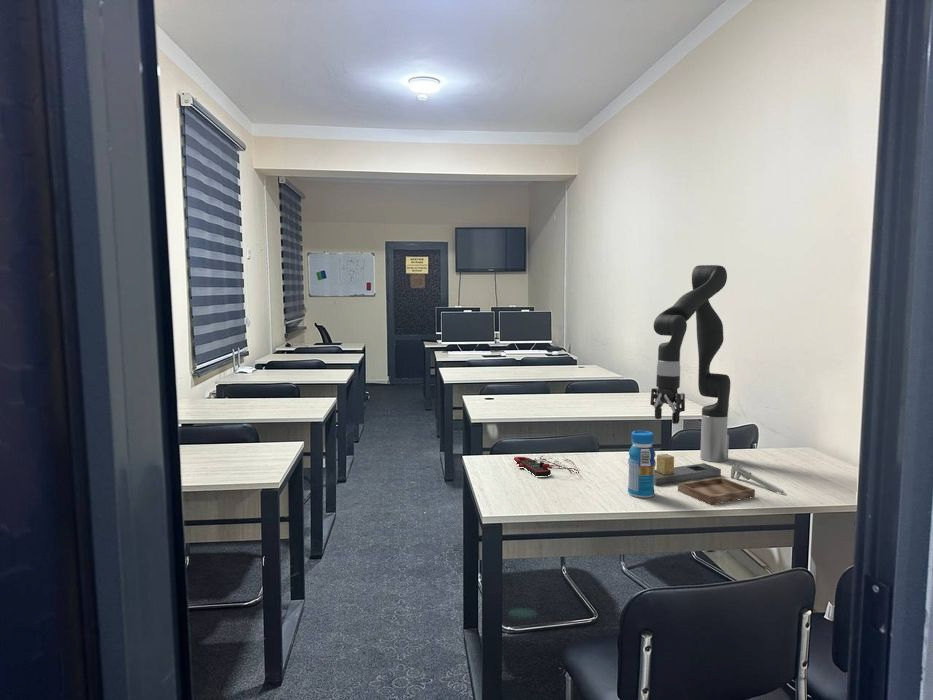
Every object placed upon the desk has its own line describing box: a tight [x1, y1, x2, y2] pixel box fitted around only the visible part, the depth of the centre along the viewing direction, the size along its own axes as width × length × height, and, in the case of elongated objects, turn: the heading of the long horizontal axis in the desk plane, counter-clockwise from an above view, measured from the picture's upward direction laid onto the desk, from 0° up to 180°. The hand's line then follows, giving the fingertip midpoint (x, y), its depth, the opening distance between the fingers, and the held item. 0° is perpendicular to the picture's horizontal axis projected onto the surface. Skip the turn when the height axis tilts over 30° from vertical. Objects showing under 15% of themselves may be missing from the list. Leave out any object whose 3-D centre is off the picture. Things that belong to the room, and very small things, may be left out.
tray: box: [677, 476, 756, 505], centre depth 191 cm, size 18×14×2 cm
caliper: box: [730, 461, 787, 495], centre depth 199 cm, size 20×1×6 cm, turn 27°
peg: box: [655, 453, 675, 476], centre depth 206 cm, size 4×4×8 cm
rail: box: [654, 462, 722, 487], centre depth 209 cm, size 28×8×2 cm, turn 112°
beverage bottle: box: [627, 430, 657, 499], centre depth 191 cm, size 8×8×20 cm
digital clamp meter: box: [513, 455, 580, 477], centre depth 220 cm, size 23×4×25 cm
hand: (666, 421), depth 204 cm, fingers open, 8 cm apart
